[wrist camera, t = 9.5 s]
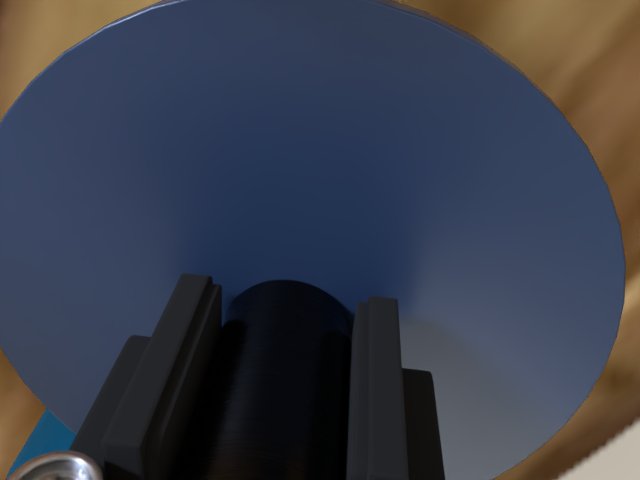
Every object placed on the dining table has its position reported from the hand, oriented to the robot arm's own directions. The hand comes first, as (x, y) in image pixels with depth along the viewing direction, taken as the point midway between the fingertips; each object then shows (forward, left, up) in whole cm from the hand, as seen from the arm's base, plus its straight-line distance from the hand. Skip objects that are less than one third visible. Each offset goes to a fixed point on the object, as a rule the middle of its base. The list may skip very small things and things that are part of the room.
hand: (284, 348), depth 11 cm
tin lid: (0, 0, -1) cm, 1 cm away
